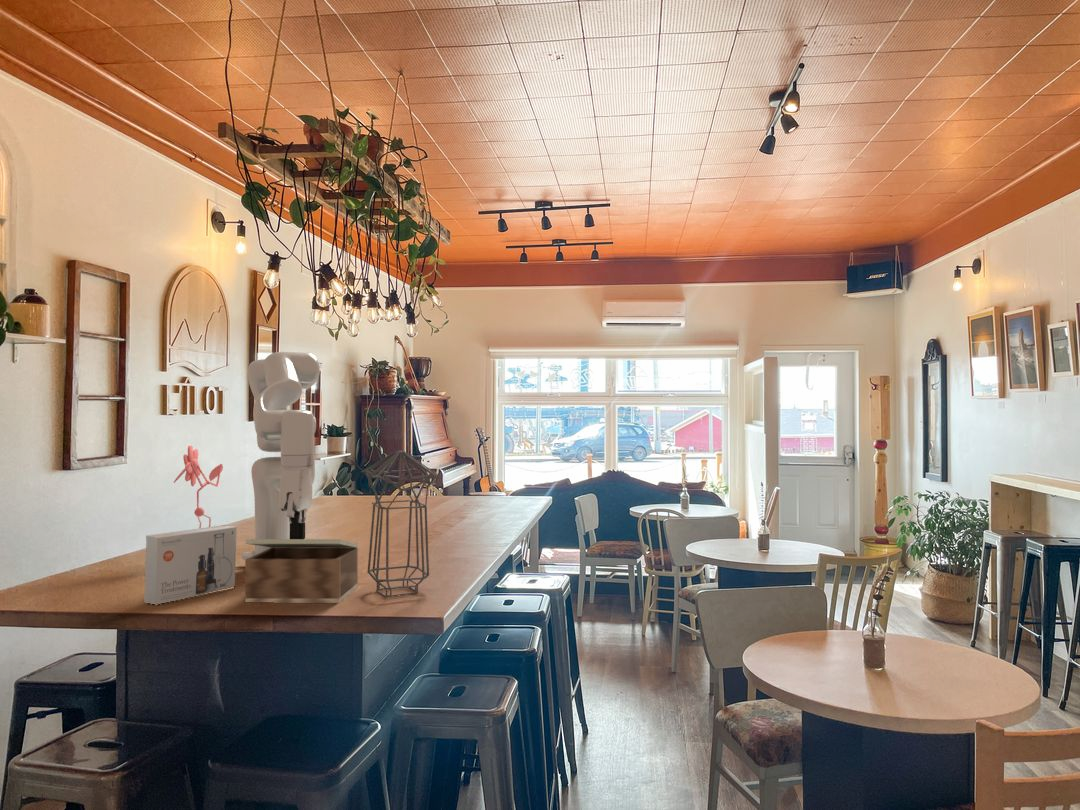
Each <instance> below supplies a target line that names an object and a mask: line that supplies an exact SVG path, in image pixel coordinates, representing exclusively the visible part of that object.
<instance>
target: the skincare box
mask: <svg viewBox="0 0 1080 810" xmlns="http://www.w3.org/2000/svg"><path fill="white" fill-rule="evenodd" d="M237 531H238V530H237V526H234V525H233V526H232V525H227V524H223V525H215V526H210V527H209V526H207V527H201V528H199V527H198V528H192V529H185V530H179V531H171V532H163V533H162V532H161V533H155V534H148V535H145V540H146V541H145V542H146V544H145V545H146V546H145V566H144V567H145V568H144V598H143V602H147V603H146V604H148V603H152V604H160V603H165V602H169V603H171V602H170V601H174V602H176V601H175V600H178V601H180V600H179V599H183V598H187V597H192V596H196V595H201V594H205V593H209V592H213V591H218V590H222V589H227V588H231V587H234V586H235V587H236V563H237V562H236V555H237ZM183 600H184V599H183ZM152 604H151V605H152ZM165 604H166V603H165ZM160 605H161V604H160Z"/></svg>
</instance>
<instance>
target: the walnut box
mask: <svg viewBox="0 0 1080 810" xmlns="http://www.w3.org/2000/svg"><path fill="white" fill-rule="evenodd" d="M358 554H359V553H358V547H357V548H270V549H268V550H265V551H263V552H261V553H259V554H257V555H255V556H252V557H250V558H248V559H244V561H245V562H244V564H245V566H244V567H245V569H244V570H245V571H244V572H245V573H244V575H245V576H244V577H245V580H244V581H245V583H244V586H245V588H244V590H245V594H244V595H245V597H244V599H245V600H244V601H245V602H274V603H273V604H284V603H286V604H289V603H290V604H294V603H295V604H297V603H298V604H302V603H304V604H308V603H309V604H316V603H317V604H320V603H322V604H339V603H341V602H342V601H343V600H344V599H346V598H347V597H348V596H349V595H350V594H352V593H353V591H355V590H356V589H357V588H358V587H359V585H358V584H359V583H358V579H359V578H358V577H359V576H358V575H359V574H358V572H359V571H358V570H359V567H358V565H359V564H358V560H359V559H358V556H359V555H358Z"/></svg>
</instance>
